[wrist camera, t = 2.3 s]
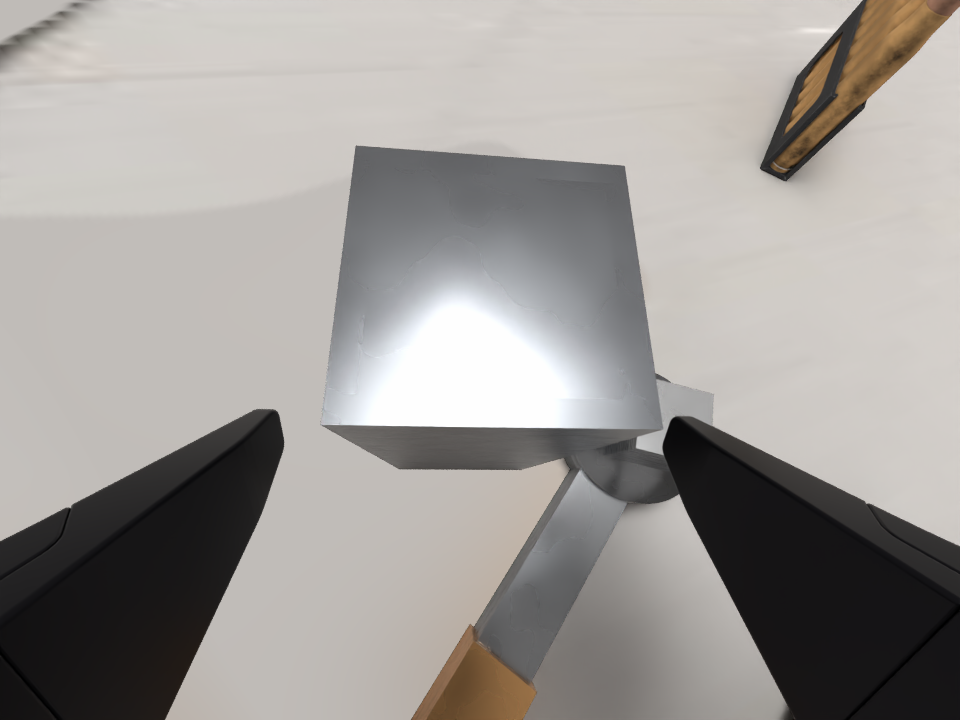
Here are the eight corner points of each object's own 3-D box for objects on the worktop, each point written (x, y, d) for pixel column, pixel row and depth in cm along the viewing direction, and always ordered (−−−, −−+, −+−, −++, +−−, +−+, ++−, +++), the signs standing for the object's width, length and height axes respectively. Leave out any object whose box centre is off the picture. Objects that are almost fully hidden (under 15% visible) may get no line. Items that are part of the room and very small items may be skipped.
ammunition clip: (797, 75, 29) (1019, -186, 18) (820, 86, 29) (1059, -170, 18) (759, 169, 26) (1003, -79, 15) (785, 182, 26) (1053, -59, 15)
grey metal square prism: (521, 469, 18) (663, 429, 7) (399, 469, 18) (320, 424, 6) (517, 356, 20) (624, 165, 8) (406, 352, 20) (355, 145, 8)
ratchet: (435, 935, 13) (432, 1176, 9) (301, 809, 14) (230, 970, 9) (697, 425, 20) (776, 404, 15) (597, 356, 21) (643, 316, 16)
